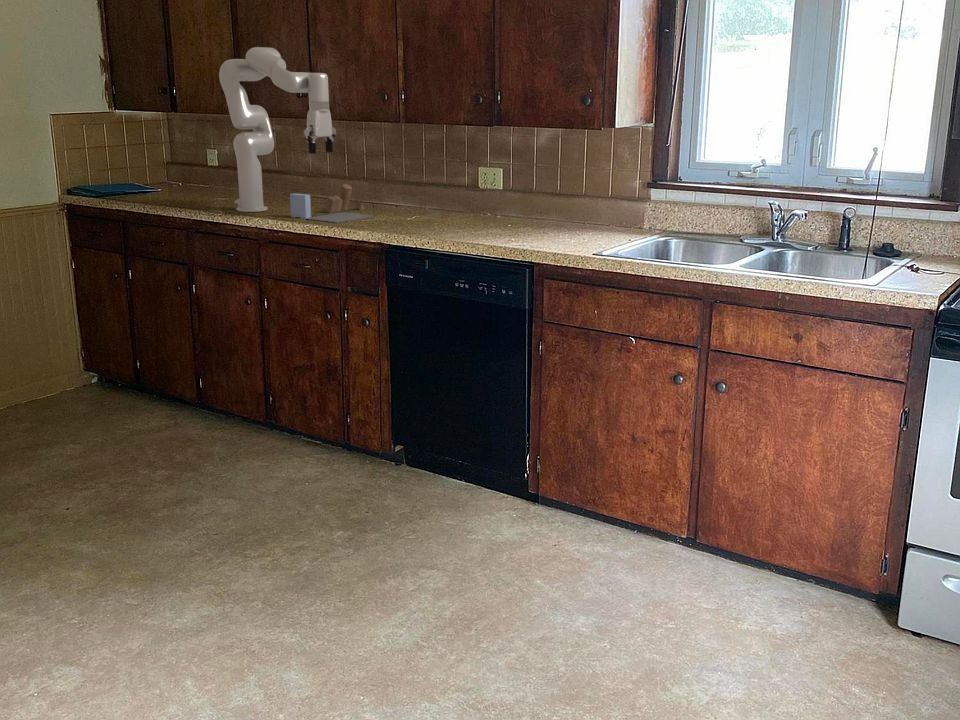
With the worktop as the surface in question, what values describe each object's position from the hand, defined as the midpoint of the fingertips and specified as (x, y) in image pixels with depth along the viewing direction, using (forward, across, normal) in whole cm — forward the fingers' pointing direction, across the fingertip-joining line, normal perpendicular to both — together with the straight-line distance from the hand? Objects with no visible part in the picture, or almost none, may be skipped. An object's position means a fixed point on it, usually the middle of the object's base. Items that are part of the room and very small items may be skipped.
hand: (321, 152), depth 366 cm
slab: (+26, +2, -10) cm, 28 cm away
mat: (+26, -5, +4) cm, 26 cm away
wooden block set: (+26, -23, -10) cm, 36 cm away
